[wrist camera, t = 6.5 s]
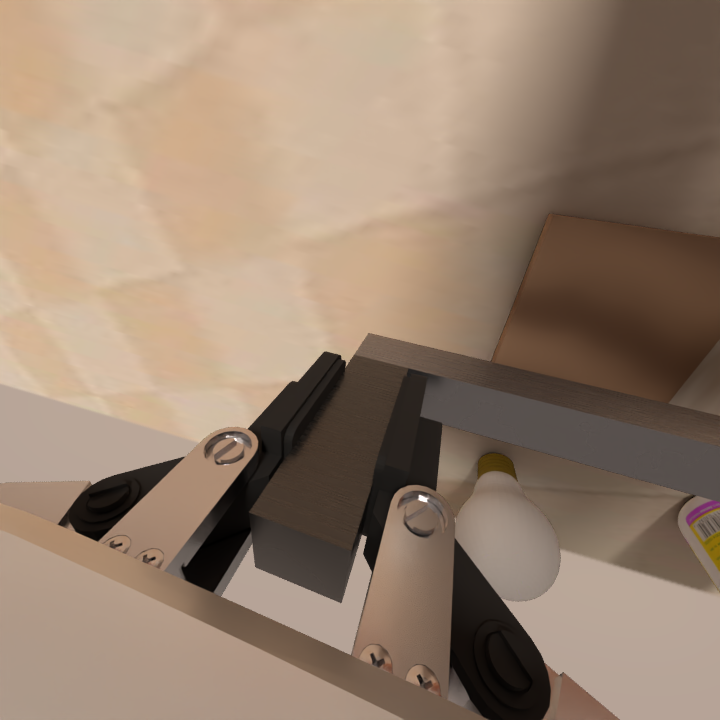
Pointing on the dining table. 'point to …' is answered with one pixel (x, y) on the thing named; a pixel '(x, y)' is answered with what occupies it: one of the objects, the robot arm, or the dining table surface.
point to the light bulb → (507, 533)
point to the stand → (621, 311)
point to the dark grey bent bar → (469, 413)
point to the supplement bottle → (703, 533)
